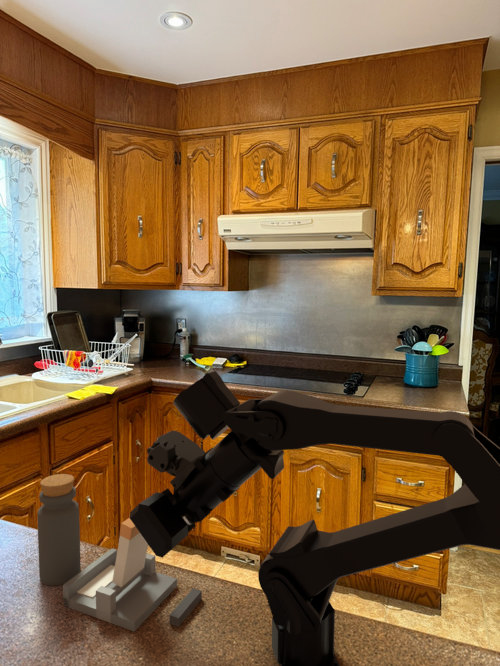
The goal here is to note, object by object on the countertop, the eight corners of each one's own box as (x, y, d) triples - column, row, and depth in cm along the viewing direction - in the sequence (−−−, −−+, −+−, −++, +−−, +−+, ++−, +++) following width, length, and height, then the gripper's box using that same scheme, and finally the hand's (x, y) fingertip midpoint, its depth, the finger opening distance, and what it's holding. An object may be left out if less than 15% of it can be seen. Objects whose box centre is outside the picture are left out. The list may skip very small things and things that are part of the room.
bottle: (66, 588, 67) (63, 489, 66) (30, 583, 68) (27, 485, 67) (88, 565, 73) (85, 473, 71) (55, 561, 74) (52, 470, 73)
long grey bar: (193, 596, 66) (193, 588, 65) (201, 598, 65) (201, 590, 65) (169, 623, 60) (169, 615, 60) (178, 626, 59) (178, 618, 59)
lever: (146, 573, 68) (157, 509, 66) (115, 601, 62) (127, 531, 60) (137, 568, 68) (148, 504, 67) (105, 596, 62) (117, 526, 60)
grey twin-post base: (177, 586, 68) (176, 561, 67) (134, 631, 59) (133, 603, 58) (112, 566, 72) (111, 543, 72) (63, 605, 63) (62, 579, 63)
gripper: (220, 400, 67) (158, 462, 73) (142, 436, 50) (69, 513, 56) (270, 461, 65) (202, 520, 70) (205, 520, 48) (122, 592, 53)
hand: (154, 532), depth 62 cm, fingers closed
